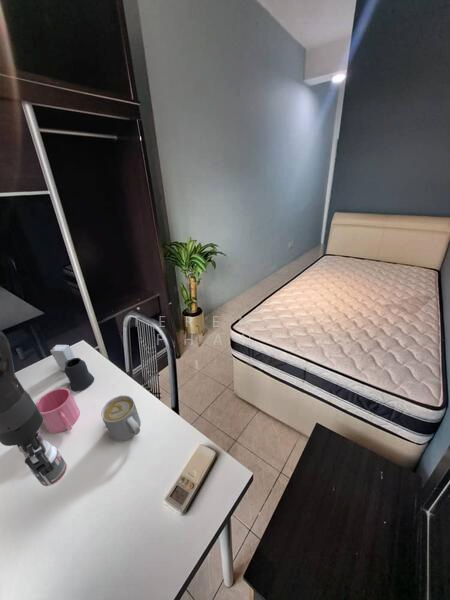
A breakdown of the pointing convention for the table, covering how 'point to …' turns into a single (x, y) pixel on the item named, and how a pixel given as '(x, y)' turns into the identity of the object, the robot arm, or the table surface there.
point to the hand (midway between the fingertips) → (45, 461)
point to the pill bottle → (57, 463)
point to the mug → (78, 374)
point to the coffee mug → (121, 418)
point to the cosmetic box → (62, 355)
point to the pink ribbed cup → (58, 410)
